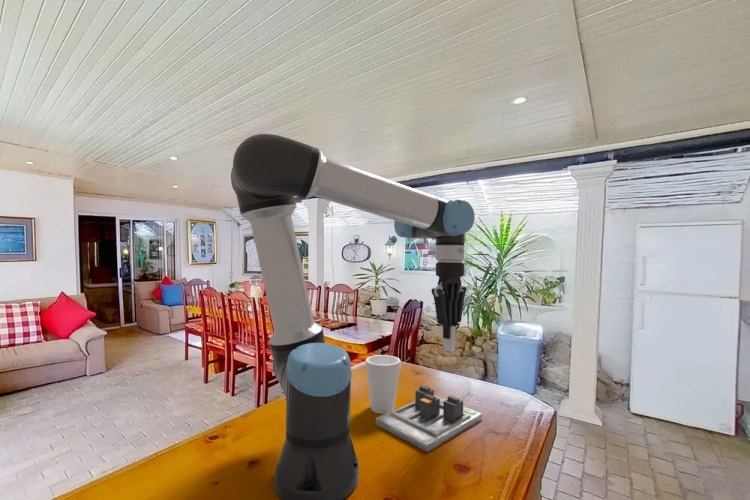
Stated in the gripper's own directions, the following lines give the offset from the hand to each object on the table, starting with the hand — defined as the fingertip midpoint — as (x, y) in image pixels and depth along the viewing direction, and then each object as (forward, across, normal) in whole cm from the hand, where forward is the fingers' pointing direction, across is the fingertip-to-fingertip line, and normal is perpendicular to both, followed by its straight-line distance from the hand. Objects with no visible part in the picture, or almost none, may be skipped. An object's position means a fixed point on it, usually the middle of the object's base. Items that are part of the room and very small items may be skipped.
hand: (449, 350), depth 91 cm
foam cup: (+17, -12, +13) cm, 24 cm away
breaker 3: (+15, -5, -5) cm, 16 cm away
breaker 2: (+15, -8, 0) cm, 17 cm away
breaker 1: (+15, -5, +4) cm, 16 cm away
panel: (+16, -8, 0) cm, 18 cm away
